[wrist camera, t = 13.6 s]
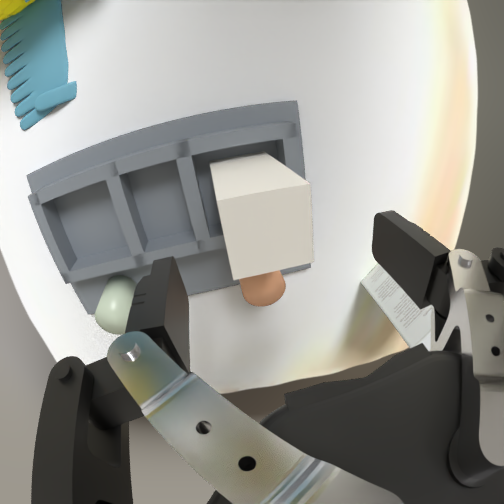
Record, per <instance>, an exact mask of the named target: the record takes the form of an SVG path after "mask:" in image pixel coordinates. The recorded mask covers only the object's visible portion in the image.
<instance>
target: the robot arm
mask: <svg viewBox="0 0 504 504" xmlns="http://www.w3.org/2000/svg"><path fill="white" fill-rule="evenodd" d="M372 252H373V256H374V258H375V260H376V261H377V262H378V263H379V264H380V266H381V267H382V268H383V269H384V270H385V271H386V272H387V273H388V274H389V275H390V276H391V277H392V278H393V279H394V281H395V282H396V283H397V284H398V285H399V286H400V287H401V288H402V289H403V290H404V292H405V293H406V294H407V295H408V296H409V297H410V298H411V299H412V301H413V302H414V303H415V304H416V305H417V306H418V308H419V309H420V310H421V309H423V308H425V307H427V306H430V305H432V306H433V308H432V311H431V348H430V351H428V350H427V348H426V347H425V345H424V344H423V343H421V344H419V345H417V346H414V347H412V348H410V349H408V350H406V351H404V352H402V353H399V354H397V355H395V356H394V357H392V358H391V359H390V360H388V361H387V362H386V363H385V364H383V365H382V366H381V367H379V368H378V369H377V370H375V371H374V372H373V373H371V374H370V375H368V376H367V377H364V378H358V379H351V380H343V381H334V382H323V383H320V384H317V385H314V386H311V387H307V388H304V389H300V390H297V391H293V392H290V393H286V394H284V397H285V405H283V406H281V407H280V408H278V409H277V410H275V411H273V412H272V413H270V414H269V415H268V416H266V417H265V418H264V419H263V420H262V421H261V422H260V423H257V422H256V421H254V420H253V419H252V418H250V417H249V416H248V415H246V414H245V413H243V412H242V411H241V410H239V409H238V408H237V407H235V406H234V405H233V404H232V403H230V402H229V401H228V400H226V399H225V398H224V397H223V396H221V395H220V394H219V393H218V392H216V391H215V390H214V389H213V388H212V387H210V386H209V385H208V384H207V383H205V382H204V381H203V380H202V379H201V378H200V377H198V376H197V375H196V374H194V373H193V372H190V353H189V301H188V296H187V292H186V289H185V286H184V283H183V280H182V277H181V275H180V272H179V269H178V266H177V263H176V260H175V258H174V257H173V256H171V257H167V258H162V259H158V260H154V261H153V264H152V269H151V273H150V275H147V276H143V277H142V279H141V280H140V281H139V283H138V284H137V285H136V288H135V292H134V295H133V296H134V298H133V299H132V303H131V304H132V306H131V307H130V312H129V316H128V320H127V325H126V329H125V334H123V335H121V336H120V337H118V338H117V339H116V340H115V341H114V342H113V343H112V344H111V345H110V347H109V349H108V353H107V357H105V358H103V359H101V360H98V361H96V362H94V363H91V364H89V365H85V364H84V363H83V362H82V361H81V360H80V359H79V358H78V357H74V356H70V357H66V358H64V359H62V360H60V361H59V362H58V363H57V364H56V365H55V366H54V367H53V369H52V370H51V372H50V374H49V378H48V382H47V386H46V390H45V394H44V398H43V403H42V408H41V412H40V418H39V423H38V429H37V435H36V442H35V450H34V459H33V471H32V493H31V494H32V496H31V497H32V498H31V499H32V500H31V504H133V498H132V487H131V475H130V456H129V421H132V420H134V419H137V418H140V417H142V416H145V417H146V418H147V419H148V420H149V422H150V423H151V424H152V425H153V426H154V428H155V429H156V430H157V431H158V432H159V433H160V435H161V436H162V437H163V438H164V439H165V440H166V441H167V442H168V443H169V445H170V446H171V447H172V448H173V449H174V450H175V451H176V452H177V453H178V454H179V455H180V456H181V457H182V458H183V459H184V460H185V461H186V462H187V463H188V464H189V465H190V466H191V467H192V468H193V469H194V470H195V471H196V472H197V473H198V474H199V475H200V476H201V477H202V478H203V479H204V480H205V481H207V482H208V483H209V484H210V485H211V486H212V487H214V489H216V490H215V492H214V493H213V495H212V497H211V498H210V500H209V501H208V503H207V504H504V249H503V248H494V249H493V250H492V252H491V255H490V258H489V260H484V261H480V259H479V258H478V257H477V256H476V255H474V254H473V253H471V252H469V251H467V250H463V249H455V250H452V251H450V250H449V249H448V248H446V247H445V246H444V245H443V244H441V243H440V242H439V241H438V240H436V239H435V238H434V237H432V236H430V234H428V233H427V232H426V231H423V229H422V228H420V227H419V226H417V225H416V224H414V223H412V222H409V221H408V220H406V219H405V218H404V217H402V216H401V215H399V214H398V213H396V212H395V211H386V212H381V213H377V214H376V215H375V217H374V228H373V240H372Z"/></svg>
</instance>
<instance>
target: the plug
mask: <svg viewBox="0 0 504 504" xmlns="http://www.w3.org/2000/svg"><path fill="white" fill-rule="evenodd" d="M209 163H210V168H211V174H212V179H213V184H214V189H215V195H216V200H217V205H218V210H219V215H220V220H221V224H222V229H223V234H224V239H225V243H226V248H227V253H228V257H229V262H230V267H231V271H232V276H233V280H237V279H242V278H246V277H251V276H256V275H260V274H265V273H269V272H273V271H278V270H282V269H287V268H291V267H295V266H300V265H304V264H308V263H312V262H314V254H313V225H312V204H311V188H310V183H309V182H307V181H306V180H304V179H303V178H302V177H300V176H299V175H298V174H296V173H295V172H293V171H292V170H290V169H289V168H288V167H286V166H285V165H283V164H282V163H280V162H279V161H277V160H276V159H275V158H273V157H272V156H270V155H269V154H267V153H266V152H257V153H251V154H245V155H240V156H234V157H229V158H223V159H218V160H213V161H209Z"/></svg>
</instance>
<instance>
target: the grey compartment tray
mask: <svg viewBox="0 0 504 504" xmlns="http://www.w3.org/2000/svg"><path fill="white" fill-rule="evenodd" d="M257 152H266V153H267V154H269V155H270V156H272V157H273V158H275V159H276V160H277V161H279V162H280V163H282V164H283V165H285V166H286V167H288V168H289V169H290V170H292V171H293V172H295V173H296V174H298V175H299V176H300V177H302V178H303V179H304V180H306V179H305V168H304V157H303V147H302V138H301V129H300V120H299V112H298V104H297V101H285V102H275V103H266V104H258V105H251V106H244V107H237V108H231V109H225V110H220V111H214V112H209V113H204V114H199V115H195V116H190V117H186V118H181V119H177V120H173V121H169V122H165V123H162V124H158V125H154V126H151V127H147V128H144V129H140V130H137V131H134V132H131V133H128V134H125V135H121V136H118V137H116V138H113V139H110V140H107V141H104V142H101V143H99V144H96V145H93V146H91V147H88V148H86V149H83V150H81V151H78V152H76V153H73V154H71V155H69V156H66V157H64V158H62V159H60V160H57V161H55V162H53V163H51V164H49V165H47V166H44V167H42V168H40V169H38V170H36V171H34V172H32V173H30V174H28V175H27V179H28V182H29V185H30V189H31V192H32V194H30V195H29V196H28V199H29V201H30V204H31V207H32V210H33V212H34V215H35V218H36V220H37V223H38V225H39V228H40V230H41V233H42V235H43V237H44V240H45V242H46V244H47V246H48V249H49V251H50V253H51V255H52V257H53V259H54V262H55V264H56V266H57V268H58V270H59V272H60V274H61V276H62V277H63V279H64V281H65V283H66V284H68V283H71V285H72V287H73V288H74V290H75V292H76V294H77V296H78V297H79V299H80V301H81V303H82V304H83V306H84V308H85V310H86V311H87V313H88V314H94V313H95V319H96V322H97V323H98V325H99V326H100V327H101V328H102V329H104V330H105V331H107V332H109V333H112V334H125V329H126V325H127V320H128V316H129V312H130V307H131V306H132V304H131V303H132V299H133V298H134V296H133V295H134V292H135V288H136V285H137V284H138V283H139V281H140V280H141V279H142V277H143V276H147V275H150V273H151V269H152V264H153V261H154V260H158V259H162V258H167V257H171V256H173V257H174V258H175V260H176V263H177V266H178V269H179V272H180V275H181V277H182V280H183V283H184V286H185V289H186V292H187V295H192V294H197V293H202V292H206V291H211V290H216V289H220V288H225V287H229V286H234V285H238V284H240V285H241V289H242V293H243V297H244V299H245V300H246V301H247V302H248V303H249V304H251V305H254V306H267V305H271V304H273V303H275V302H276V301H278V300H279V299H280V298H281V297H282V295H283V294H284V291H285V287H286V284H285V281H284V278H283V276H282V274H286V273H290V272H294V271H298V270H303V269H307V268H311V263H308V264H304V265H300V266H295V267H291V268H287V269H282V270H278V271H273V272H269V273H265V274H260V275H256V276H251V277H246V278H242V279H237V280H233V276H232V271H231V267H230V262H229V257H228V253H227V248H226V243H225V239H224V234H223V229H222V224H221V220H220V215H219V210H218V205H217V200H216V195H215V189H214V184H213V179H212V174H211V168H210V163H209V161H213V160H218V159H223V158H229V157H234V156H240V155H245V154H251V153H257Z"/></svg>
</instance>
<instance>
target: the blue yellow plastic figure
mask: <svg viewBox="0 0 504 504" xmlns="http://www.w3.org/2000/svg"><path fill="white" fill-rule="evenodd" d="M7 16H8V17H7ZM4 18H5V19H4ZM2 19H4V20H3V21H2V22H1V24H0V29H1V30H2V29H4V28H6V27H8V26H9V25H10V26H9V27H8V28H7V29H6V30H5V31H4V32H3V33H2V34H1V37H0V39H1V40H2V41H3V40H6V39H7V38H9V37H10V36H11V37H10V38H9V39H8V40H6V41H5V42H4V43H3V45H2V47H1V50H2V51H3V52H6V51H7V50H9V49H11V48H12V47H13V46H15V45H16V44H18V43H19V44H18V45H16V46H15V47H14V48H13V49H11V50H10V51H9V52H8V53H7V54H6V55H5V56H4V59H3V63H4V64H8V63H10V62H11V61H13V60H14V59H16V58H17V57H19V56H20V55H21V56H20V57H19V58H17V59H16V60H15V61H14V62H12V63H11V64H10V65H9V66H8V67H7V68H6V70H5V76H7V77H9V76H11V75H13V74H14V73H16V72H17V71H19V70H20V69H22V68H23V69H22V70H20V71H19V72H18V73H17V74H15V75H14V76H13V77H12V78H11V79H10V80H9V82H8V84H7V87H8V89H9V90H12V89H14V88H16V87H18V86H19V85H21V84H22V83H24V82H25V83H24V84H23V85H21V86H20V87H19V88H18V89H16V90H15V91H14V92H13V93H12V95H11V101H12V102H13V103H17V102H19V101H21V100H22V99H24V98H25V97H27V96H28V95H29V96H28V97H27V98H26V99H24V100H23V101H22V102H21V103H20V104H19V105H18V106H17V107H16V109H15V115H16V116H17V117H20V116H22V115H24V114H26V113H27V112H29V111H30V110H32V109H34V108H35V109H34V110H32V111H31V112H30V113H29V114H27V115H26V116H25V117H24V118H23V119H22V120H21V122H20V127H21V129H23V130H26V129H28V128H30V127H31V126H33V125H34V124H36V123H37V122H38V121H40V120H41V119H42V118H44V117H45V116H46V115H48V114H49V113H50V112H51V111H52V110H53V109H54V108H55V107H56V106H57V105H59V104H62V103H64V102H67V101H70V100H72V99H75V97H76V93H77V84H76V81H74V82H71V83H68V84H67V82H68V58H67V51H66V43H65V30H64V23H63V16H62V8H61V0H0V20H2ZM13 22H14V23H13ZM12 23H13V24H12ZM11 24H12V25H11ZM16 32H17V33H16ZM13 34H14V35H13ZM12 35H13V36H12Z"/></svg>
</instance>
